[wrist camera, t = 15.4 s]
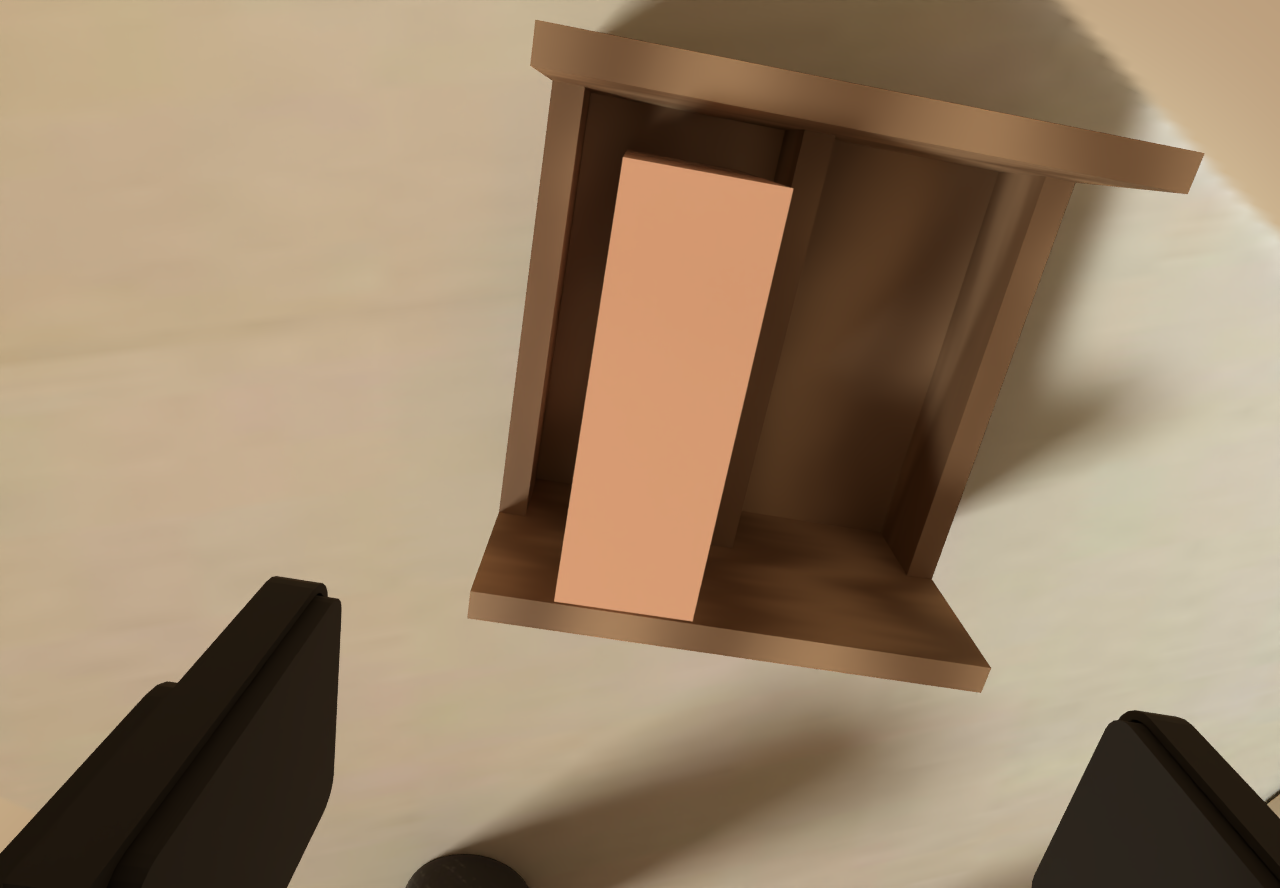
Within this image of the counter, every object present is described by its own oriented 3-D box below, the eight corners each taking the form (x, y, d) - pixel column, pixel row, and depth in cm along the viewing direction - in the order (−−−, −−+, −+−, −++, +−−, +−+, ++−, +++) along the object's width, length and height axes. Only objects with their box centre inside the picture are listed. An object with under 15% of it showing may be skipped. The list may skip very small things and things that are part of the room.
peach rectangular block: (736, 169, 28) (793, 188, 18) (674, 469, 33) (692, 621, 22) (627, 149, 28) (622, 157, 18) (579, 454, 32) (553, 601, 22)
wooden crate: (1022, 147, 29) (1204, 152, 20) (889, 545, 35) (981, 692, 26) (568, 58, 28) (535, 19, 19) (513, 486, 34) (467, 618, 25)
